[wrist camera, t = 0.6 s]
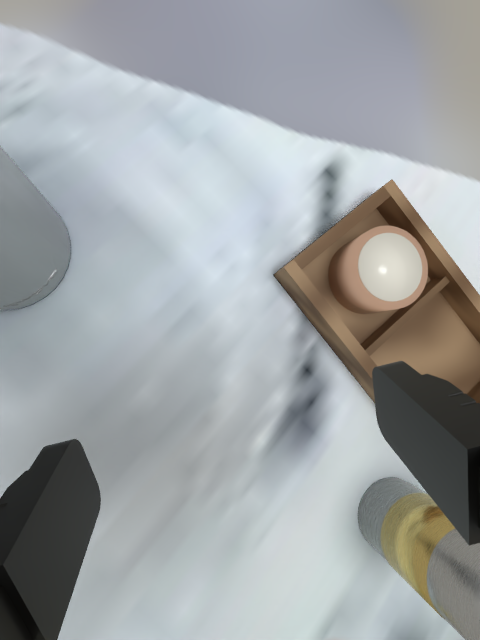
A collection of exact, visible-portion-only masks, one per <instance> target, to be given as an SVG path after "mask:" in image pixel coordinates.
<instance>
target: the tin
mask: <svg viewBox="0 0 480 640" xmlns="http://www.w3.org/2000/svg"><path fill="white" fill-rule="evenodd" d="M358 523H359V527H360V530H361V532H362V534H363V536H364V538H365V539H366V540H367V541H368V542H369V543H370V544H371V545H372V546H373V547H374V548H375V549H376V550H377V551H378V552H379V553H380V554H381V555H382V556H383V557H384V558H385V559H386V560H387V561H388V563H389V564H390V565H391V566H392V567H393V568H394V569H395V570H396V572H397V573H398V574H399V575H400V576H401V577H402V578H403V579H404V580H405V581H406V582H407V583H408V584H409V585H410V586H411V587H412V588H413V589H414V590H415V591H416V592H417V593H418V594H419V595H420V596H421V597H422V598H423V599H424V600H425V601H426V602H427V603H428V604H429V605H430V606H431V607H432V608H433V609H434V610H435V611H436V612H437V613H438V614H439V615H440V616H441V617H442V618H444V619H445V620H446V621H447V622H448V623H449V624H450V625H451V626H452V627H453V628H454V629H455V630H456V631H457V632H458V633H459V634H460V635H461V636H462V637H463V638H464V639H465V640H480V543H477V544H473V545H470V546H469V545H468V544H467V542H466V541H465V540H464V539H463V537H462V536H461V535H460V533H459V532H458V531H457V530H456V528H455V527H454V526H453V525H452V523H451V522H450V521H449V520H448V518H447V517H446V516H445V515H444V513H443V512H442V511H441V509H440V508H439V507H438V506H437V504H436V503H435V502H434V501H433V499H432V498H431V497H430V496H429V494H427V493H425V492H423V491H422V490H420V489H418V488H417V487H415V486H413V485H411V484H410V483H408V482H406V481H404V480H402V479H399V478H393V477H390V478H384V479H381V480H379V481H377V482H375V483H374V484H372V485H371V486H370V487H369V488H368V489H367V490H366V492H365V493H364V495H363V497H362V499H361V501H360V504H359V508H358Z"/></svg>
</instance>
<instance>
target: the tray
mask: <svg viewBox="0 0 480 640" xmlns="http://www.w3.org/2000/svg"><path fill="white" fill-rule="evenodd" d="M378 226H394V227H398V228H401V229H403V230H405V231H407V232H408V233H410V234H411V235H412V236H413V237H414V238H415V239H416V240H417V241H418V242H419V244H420V245H421V247H422V249H423V251H424V253H425V256H426V259H427V264H428V277H427V282H426V285H425V287H424V290H423V291H422V293H421V295H420V296H419V297H418V298H417V299H416V300H415V301H414V302H413V303H412V304H410V305H408V306H406V307H404V308H400V309H395V310H389V311H383V312H377V313H371V314H359V313H355V312H352V311H350V310H348V309H346V308H345V307H343V306H342V305H341V304H340V303H339V302H338V301H337V300H336V298H335V297H334V295H333V293H332V291H331V289H330V285H329V280H328V270H329V265H330V262H331V259H332V257H333V256H334V254H335V253H336V252H337V250H338V249H339V248H341V247H342V246H343V245H345V244H347V243H348V242H350V241H352V240H353V239H355V238H357V237H358V236H360V235H362V234H363V233H365V232H367V231H369V230H370V229H372V228H375V227H378ZM274 276H275V278H276V279H277V280H278V281H279V283H280V284H281V285H282V287H283V288H284V289H285V290H286V292H287V293H288V294H289V295H290V297H291V298H292V299H293V300H294V302H295V303H296V304H297V305H298V307H299V308H300V309H301V310H302V312H303V313H304V314H305V316H306V317H307V318H308V319H309V321H310V322H311V323H312V324H313V326H314V327H315V328H316V329H317V331H318V332H319V333H320V334H321V336H322V337H323V338H324V339H325V341H326V342H327V343H328V345H329V346H330V347H331V348H332V350H333V351H334V352H335V353H336V355H337V356H338V357H339V358H340V360H341V361H342V362H343V363H344V365H345V366H346V367H347V368H348V370H349V371H350V372H351V374H352V375H353V376H354V377H355V379H356V380H357V381H358V382H359V384H360V385H361V386H362V387H363V389H364V390H365V391H366V392H367V394H368V395H369V396H370V397H371V399H372V400H373V401H374V403H375V398H374V388H373V379H372V371H373V368H374V367H377V366H381V365H385V364H389V363H394V362H398V361H404V362H405V363H407V364H408V365H409V366H411V367H412V368H413V369H415V370H416V371H417V372H418V373H420V374H421V375H424V374H430V375H433V376H436V377H439V378H441V379H444V380H447V381H449V382H450V383H452V384H453V385H454V386H456V387H457V388H459V389H460V390H462V391H463V394H467V395H469V396H470V397H471V398H473V399H474V400H475V401H476V403H480V295H479V294H478V292H477V291H476V290H475V288H474V287H473V286H472V285H471V283H470V282H469V281H468V279H467V278H466V277H465V275H464V274H463V273H462V271H461V270H460V269H459V267H458V266H457V265H456V263H455V262H454V261H453V259H452V258H451V257H450V255H449V254H448V253H447V251H446V250H445V249H444V247H443V246H442V245H441V243H440V242H439V241H438V239H437V238H436V237H435V235H434V234H433V233H432V231H431V230H430V229H429V227H428V226H427V225H426V223H425V222H424V221H423V219H422V218H421V217H420V216H419V214H418V213H417V212H416V210H415V209H414V208H413V206H412V205H411V204H410V202H409V201H408V200H407V198H406V197H405V196H404V194H403V193H402V192H401V190H400V189H399V188H398V186H397V185H396V184H395V182H394V181H393V180H390V181H389V182H388V183H386V184H385V185H384V186H382V187H381V188H380V189H379V190H377V191H376V192H375V193H373V194H372V195H371V196H370V197H368V198H367V199H366V200H365V201H363V202H362V203H361V204H360V205H358V206H357V207H356V208H355V209H354V210H352V211H351V212H350V213H349V214H347V215H346V216H345V217H344V218H342V219H341V220H340V221H339V222H338V223H336V224H335V225H334V226H333V227H331V228H330V229H329V230H328V231H327V232H325V233H324V234H323V235H322V236H320V237H319V238H318V239H317V240H315V241H314V242H313V243H312V244H311V245H309V246H308V247H307V248H306V249H304V250H303V251H302V252H301V253H299V254H298V255H297V256H296V257H295V258H293V259H292V260H291V261H290V262H288V263H287V264H286V265H285V266H284V267H282V268H281V269H280V270H279V271H277V272H276V273H275V274H274Z"/></svg>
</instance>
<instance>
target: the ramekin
mask: <svg viewBox="0 0 480 640" xmlns="http://www.w3.org/2000/svg"><path fill="white" fill-rule="evenodd" d="M427 277H428V264H427V259H426V256H425V253H424V251H423V249H422V247H421V245H420V244H419V242H418V241H417V240H416V239H415V238H414V237H413V236H412V235H411V234H410V233H408V232H407V231H405V230H403V229H401V228H398V227H394V226H378V227H375V228H372V229H370V230H369V231H367V232H365V233H363V234H362V235H360V236H358V237H357V238H355V239H353V240H352V241H350V242H348V243H347V244H345V245H343V246H342V247H341V248H339V249H338V250H337V252H336V253H335V254H334V256H333V257H332V259H331V262H330V265H329V270H328V280H329V285H330V289H331V291H332V293H333V295H334V297H335V298H336V300H337V301H338V302H339V303H340V304H341V305H342V306H343V307H345V308H346V309H348V310H350V311H352V312H355V313H359V314H371V313H377V312H383V311H389V310H395V309H400V308H404V307H406V306H408V305H410V304H412V303H413V302H414V301H415V300H416V299H417V298H418V297H419V296H420V295H421V293H422V291H423V290H424V287H425V285H426V282H427Z"/></svg>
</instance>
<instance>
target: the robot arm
mask: <svg viewBox="0 0 480 640" xmlns="http://www.w3.org/2000/svg"><path fill="white" fill-rule="evenodd" d="M70 255H71V247H70V238H69V234H68V231H67V228H66V226H65V224H64V222H63V220H62V218H61V217H60V215H59V214H58V213H57V212H56V211H55V210H54V208H53V207H52V206H51V205H50V204H49V202H48V201H47V200H46V199H45V198H44V196H43V195H42V194H41V193H40V191H39V190H38V189H37V188H36V187H35V186H34V184H33V183H32V182H31V181H30V180H29V179H28V177H27V176H26V175H25V174H24V173H23V172H22V170H21V169H20V168H19V167H18V166H17V165H16V163H15V162H14V161H13V160H12V159H11V158H10V157H9V155H8V154H7V153H6V152H5V151H4V150H3V148H2V147H1V146H0V310H13V309H20V308H23V307H26V306H29V305H32V304H34V303H36V302H38V301H39V300H41V299H43V298H45V297H46V296H47V295H48V294H49V293H50V292H52V291H53V290H54V289H55V288H56V287H57V285H58V284H59V283H60V281H61V280H62V278H63V277H64V275H65V272H66V270H67V268H68V265H69V260H70ZM372 379H373V388H374V398H375V407H376V416H377V421H378V425H379V428H380V430H381V433H382V435H383V437H384V438H385V440H386V441H387V442H388V444H389V445H390V446H391V448H392V449H393V450H394V451H395V453H396V454H397V455H398V456H399V458H400V459H401V460H402V461H403V463H404V464H405V465H406V466H407V468H408V469H409V470H410V472H411V473H412V474H413V475H414V477H415V478H416V479H417V480H418V482H419V483H420V484H421V485H422V487H423V488H424V489H425V491H426V492H427V493H428V494H429V496H430V497H431V498H432V499H433V501H434V502H435V503H436V504H437V506H438V507H439V508H440V509H441V511H442V512H443V513H444V515H445V516H446V517H447V518H448V520H449V521H450V522H451V523H452V525H453V526H454V527H455V528H456V530H457V531H458V532H459V533H460V535H461V536H462V537H463V539H464V540H465V541H466V542H467V544H468V545H469V546H470V545H473V544H477V543H480V403H476V401H475V400H474V399H473V398H471V397H470V396H469V395H467V394H463V391H462V390H460V389H459V388H457V387H456V386H454V385H453V384H452V383H450V382H449V381H447V380H444V379H441V378H439V377H436V376H433V375H430V374H424V375H421V374H420V373H418V372H417V371H416V370H415V369H413V368H412V367H411V366H409V365H408V364H407V363H405V362H404V361H398V362H394V363H389V364H385V365H381V366H377V367H374V368H373V371H372ZM100 502H101V498H100V490H99V486H98V483H97V481H96V478H95V476H94V474H93V471H92V469H91V466H90V464H89V462H88V459H87V457H86V454H85V452H84V449H83V447H82V445H81V443H80V442H79V441H78V440H76V439H73V440H69V441H65V442H61V443H57V444H52V445H48V446H45V447H44V448H43V449H42V450H41V452H40V454H39V455H38V457H37V458H36V460H35V461H34V463H33V464H32V466H31V467H30V469H29V470H28V471H25V472H24V473H23V474H22V475H21V476H20V477H19V478H18V479H17V480H16V481H14V482H13V483H12V484H11V485H10V486H9V487H8V488H7V489H6V491H5V492H4V494H3V495H2V497H1V498H0V640H57V639H58V636H59V632H60V629H61V626H62V623H63V620H64V617H65V614H66V611H67V608H68V605H69V602H70V599H71V596H72V593H73V590H74V587H75V584H76V581H77V578H78V575H79V571H80V568H81V565H82V562H83V559H84V556H85V553H86V550H87V547H88V544H89V541H90V538H91V535H92V532H93V529H94V526H95V523H96V520H97V517H98V513H99V510H100Z"/></svg>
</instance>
